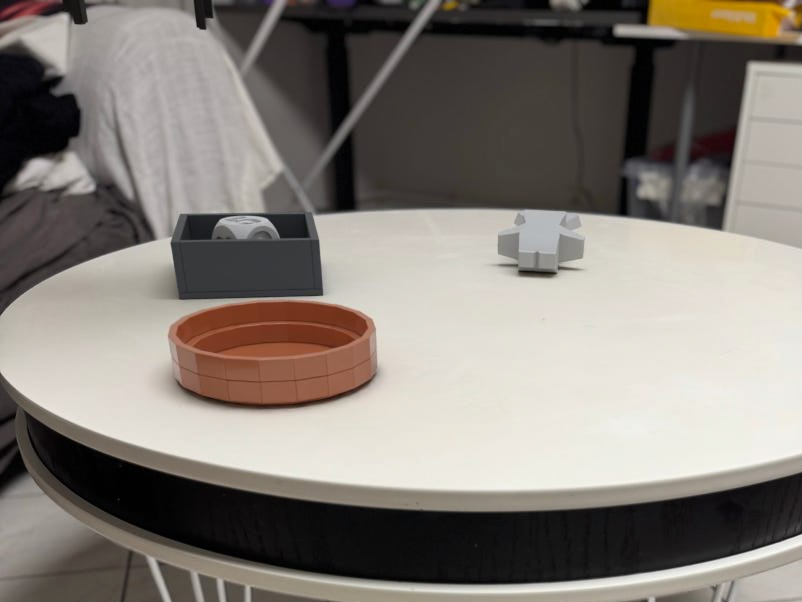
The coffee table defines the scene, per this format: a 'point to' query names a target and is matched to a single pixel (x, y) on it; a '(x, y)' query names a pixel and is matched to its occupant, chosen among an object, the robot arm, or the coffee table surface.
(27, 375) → the coffee table surface
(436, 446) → the coffee table surface
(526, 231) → the grey angular piece
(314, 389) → the bowl
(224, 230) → the die
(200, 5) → the robot arm
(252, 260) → the bin
